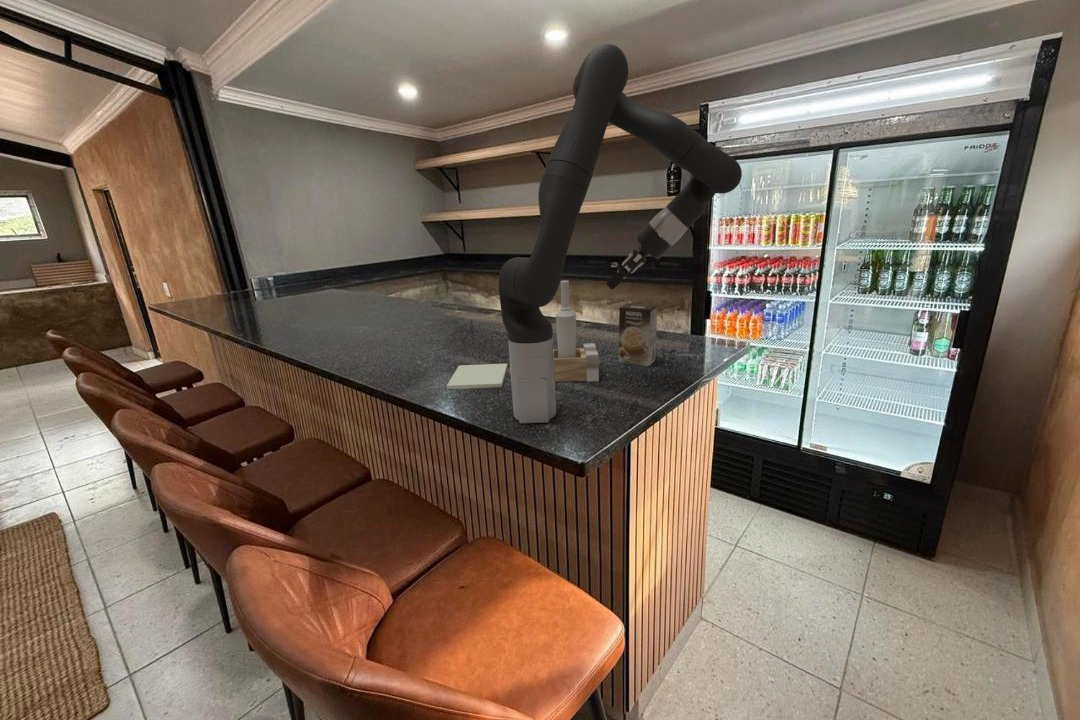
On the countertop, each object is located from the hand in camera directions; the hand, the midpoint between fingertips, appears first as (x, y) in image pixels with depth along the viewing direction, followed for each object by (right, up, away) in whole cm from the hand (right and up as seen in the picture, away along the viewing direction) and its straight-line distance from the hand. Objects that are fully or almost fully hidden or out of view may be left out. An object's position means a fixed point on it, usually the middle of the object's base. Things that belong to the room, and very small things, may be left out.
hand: (611, 283), depth 109 cm
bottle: (-10, -23, +11) cm, 27 cm away
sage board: (-34, -23, +13) cm, 43 cm away
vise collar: (-10, -23, +11) cm, 27 cm away
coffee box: (+10, -19, +19) cm, 29 cm away
